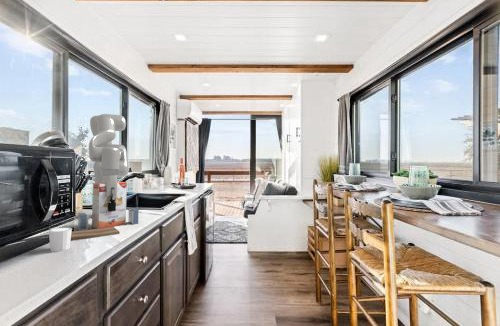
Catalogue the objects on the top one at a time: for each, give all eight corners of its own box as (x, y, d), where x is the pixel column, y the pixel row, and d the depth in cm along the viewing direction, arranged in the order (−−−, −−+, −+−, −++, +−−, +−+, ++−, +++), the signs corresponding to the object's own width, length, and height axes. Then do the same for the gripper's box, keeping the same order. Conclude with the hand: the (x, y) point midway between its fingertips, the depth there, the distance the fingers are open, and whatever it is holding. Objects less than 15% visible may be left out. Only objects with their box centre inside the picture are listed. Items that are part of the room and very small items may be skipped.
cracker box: (98, 229, 126) (99, 183, 126) (91, 227, 129) (92, 182, 129) (126, 224, 138) (127, 181, 138) (119, 222, 141) (119, 181, 141)
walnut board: (66, 234, 117) (66, 232, 117) (112, 228, 129) (112, 226, 128) (70, 240, 109) (70, 238, 109) (119, 233, 120) (119, 231, 120)
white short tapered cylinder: (74, 249, 99) (74, 229, 99) (50, 253, 94) (51, 233, 94) (68, 244, 104) (68, 226, 103) (46, 249, 99) (46, 229, 98)
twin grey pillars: (78, 228, 128) (78, 213, 128) (134, 221, 144) (134, 208, 144) (80, 231, 123) (80, 215, 123) (138, 223, 139) (138, 209, 139)
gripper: (97, 172, 138) (97, 208, 138) (105, 173, 124) (105, 213, 124) (114, 172, 142) (113, 206, 143) (123, 173, 129) (123, 211, 129)
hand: (109, 209), depth 133 cm, fingers closed on cracker box, 7 cm apart
